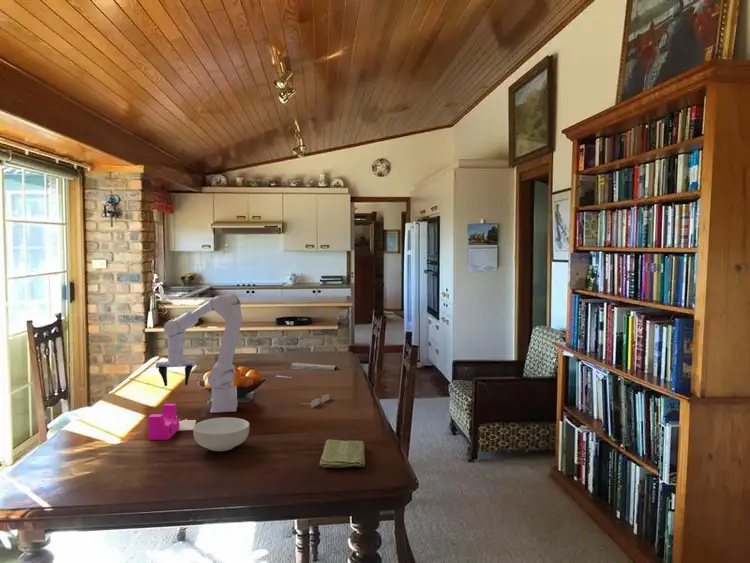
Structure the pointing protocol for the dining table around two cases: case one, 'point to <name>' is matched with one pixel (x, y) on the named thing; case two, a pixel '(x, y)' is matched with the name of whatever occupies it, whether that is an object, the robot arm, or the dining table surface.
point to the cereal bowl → (221, 433)
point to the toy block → (163, 423)
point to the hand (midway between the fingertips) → (176, 385)
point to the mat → (311, 367)
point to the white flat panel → (186, 424)
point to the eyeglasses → (316, 401)
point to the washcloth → (343, 454)
